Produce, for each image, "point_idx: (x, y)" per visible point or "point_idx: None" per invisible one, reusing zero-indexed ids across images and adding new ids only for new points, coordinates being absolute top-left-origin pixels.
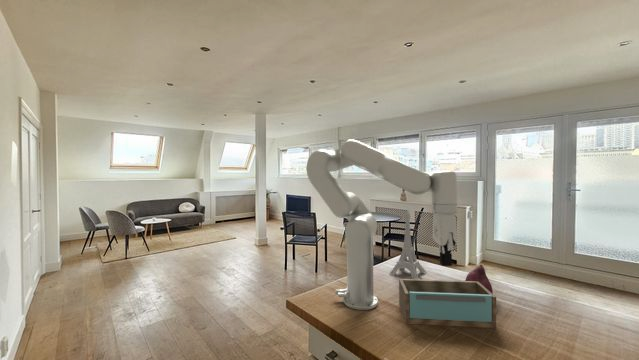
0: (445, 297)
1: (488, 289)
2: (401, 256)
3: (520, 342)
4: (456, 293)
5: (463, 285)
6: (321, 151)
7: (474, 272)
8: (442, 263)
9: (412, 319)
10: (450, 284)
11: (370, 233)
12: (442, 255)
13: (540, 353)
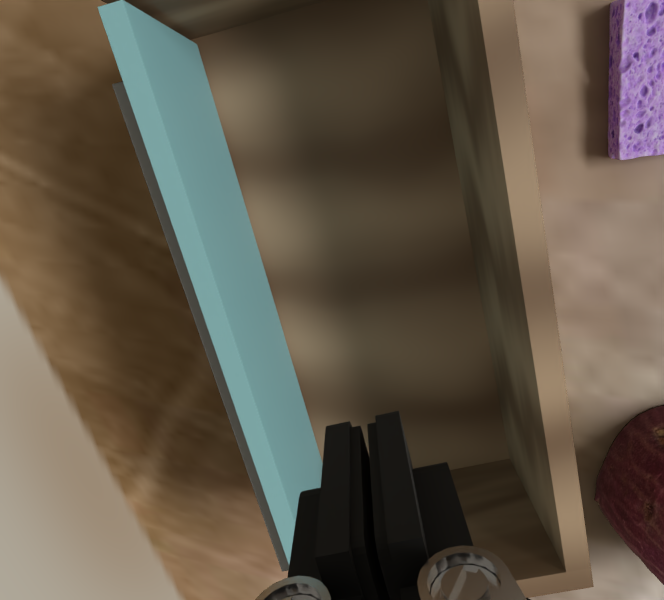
0: (198, 323)
1: (660, 581)
2: None
3: (235, 550)
4: (255, 413)
5: (541, 470)
6: None
7: None
8: (327, 449)
9: None
10: (528, 380)
11: None
12: (325, 544)
13: (182, 589)
